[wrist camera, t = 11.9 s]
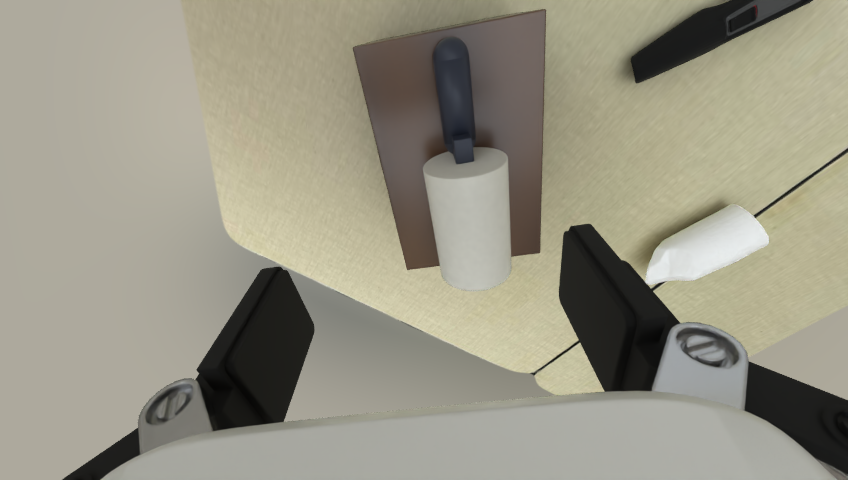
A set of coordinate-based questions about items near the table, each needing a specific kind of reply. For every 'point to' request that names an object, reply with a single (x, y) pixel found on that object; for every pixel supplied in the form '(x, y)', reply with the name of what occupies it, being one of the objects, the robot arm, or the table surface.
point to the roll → (707, 246)
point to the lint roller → (466, 184)
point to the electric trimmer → (707, 33)
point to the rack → (493, 113)
